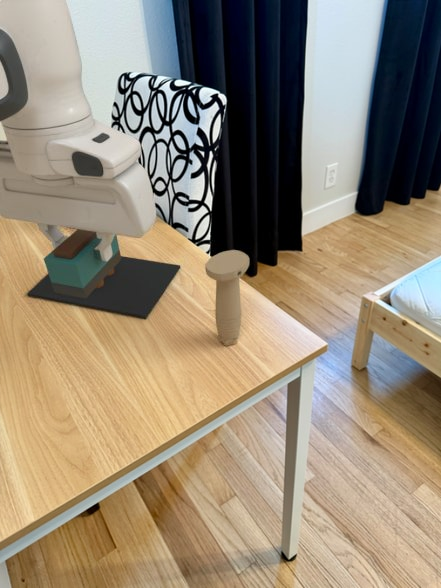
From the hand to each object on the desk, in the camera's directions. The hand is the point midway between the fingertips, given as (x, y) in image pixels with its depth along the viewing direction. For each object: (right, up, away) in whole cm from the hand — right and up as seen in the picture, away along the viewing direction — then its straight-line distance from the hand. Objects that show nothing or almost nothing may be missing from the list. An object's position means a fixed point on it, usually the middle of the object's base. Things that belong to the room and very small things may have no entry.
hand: (84, 254), depth 54 cm
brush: (0, -2, +2) cm, 3 cm away
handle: (+18, -12, +15) cm, 27 cm away
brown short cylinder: (-6, -3, +27) cm, 27 cm away
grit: (-5, -1, +30) cm, 30 cm away
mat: (-5, -2, +28) cm, 29 cm away
